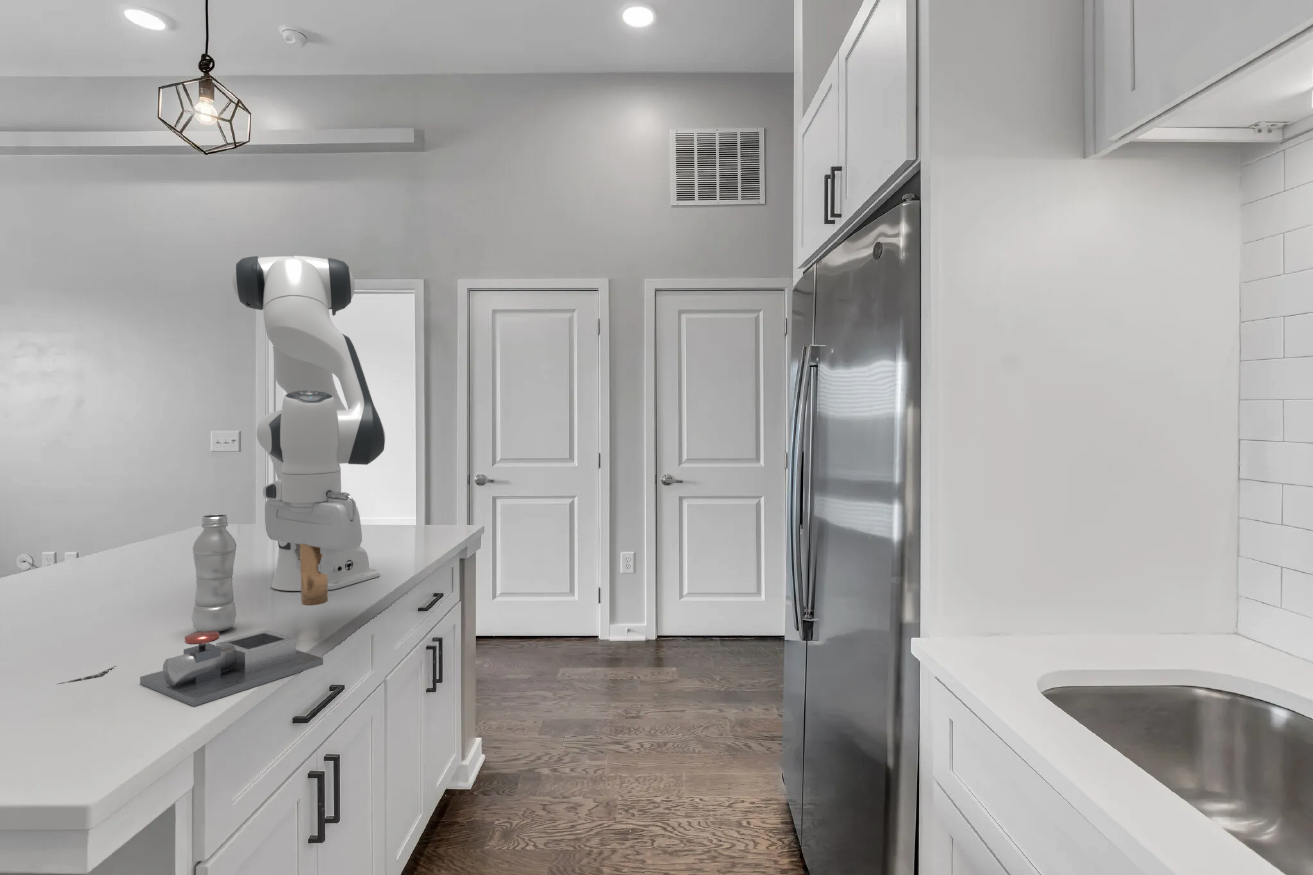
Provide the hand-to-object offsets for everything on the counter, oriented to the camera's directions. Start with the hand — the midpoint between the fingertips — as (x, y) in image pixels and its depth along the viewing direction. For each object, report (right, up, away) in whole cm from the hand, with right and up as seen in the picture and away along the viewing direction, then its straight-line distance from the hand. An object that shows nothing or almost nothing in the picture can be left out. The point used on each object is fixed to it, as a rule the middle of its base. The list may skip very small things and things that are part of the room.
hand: (314, 571), depth 114 cm
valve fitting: (-4, -12, -15) cm, 20 cm away
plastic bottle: (-19, -11, +4) cm, 23 cm away
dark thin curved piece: (-24, -12, -16) cm, 31 cm away
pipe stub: (0, -5, 0) cm, 5 cm away
